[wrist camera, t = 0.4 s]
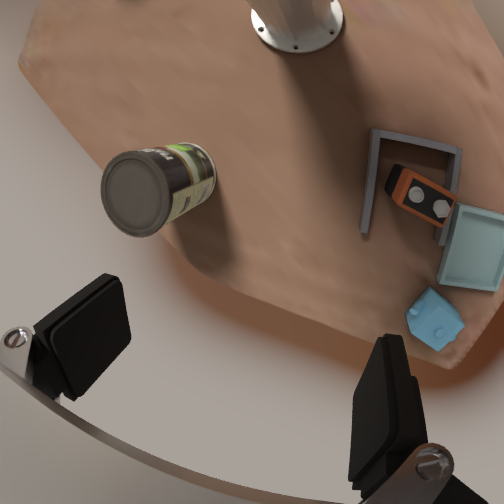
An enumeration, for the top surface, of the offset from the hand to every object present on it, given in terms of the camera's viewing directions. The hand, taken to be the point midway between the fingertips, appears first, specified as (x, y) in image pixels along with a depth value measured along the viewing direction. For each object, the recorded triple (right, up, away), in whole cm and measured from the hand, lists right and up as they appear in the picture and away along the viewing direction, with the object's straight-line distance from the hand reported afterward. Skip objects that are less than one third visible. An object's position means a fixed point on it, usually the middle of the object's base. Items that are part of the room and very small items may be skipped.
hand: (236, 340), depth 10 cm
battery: (+22, +12, +27) cm, 37 cm away
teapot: (+29, -5, +32) cm, 44 cm away
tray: (+36, +4, +26) cm, 44 cm away
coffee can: (-10, +15, +34) cm, 39 cm away
